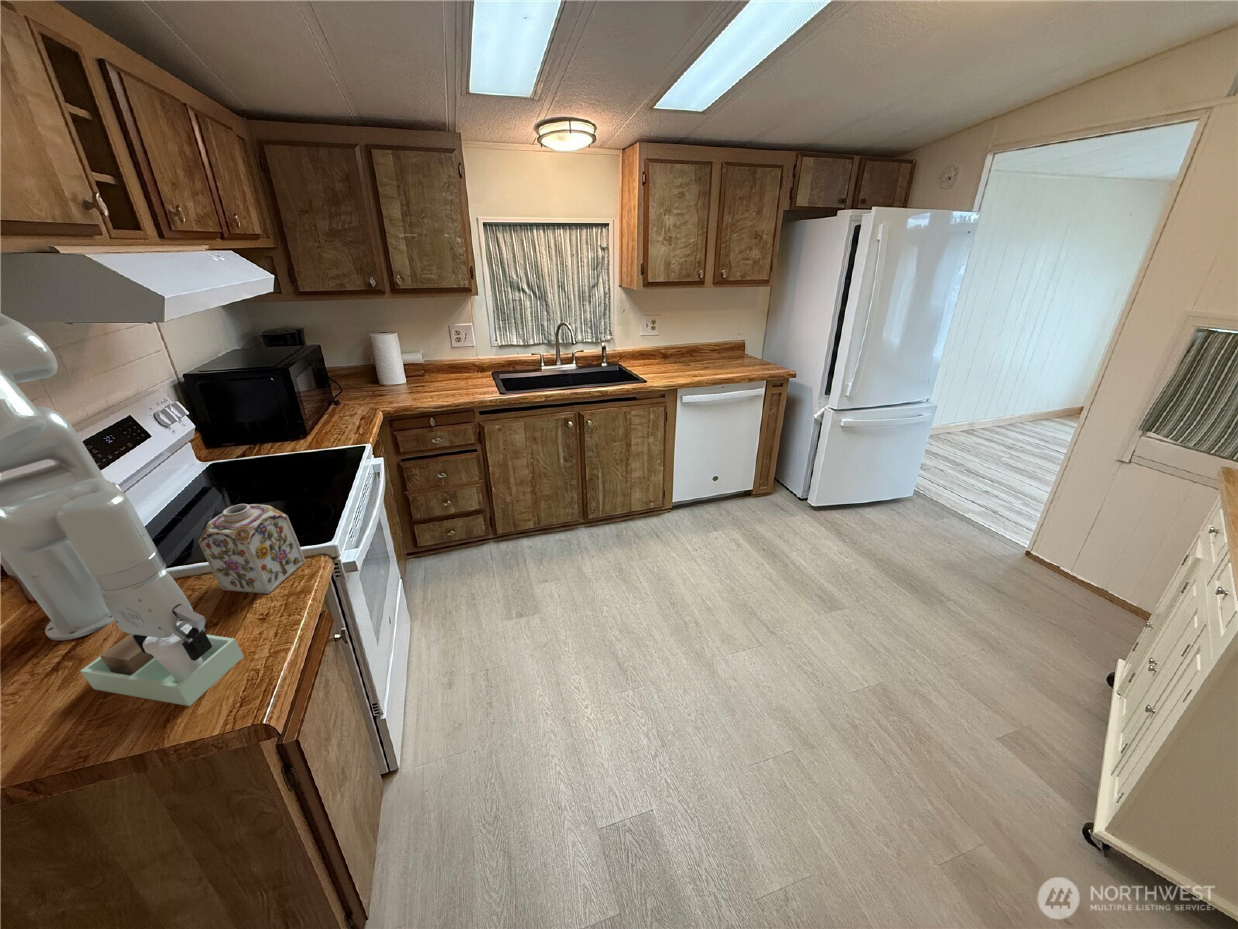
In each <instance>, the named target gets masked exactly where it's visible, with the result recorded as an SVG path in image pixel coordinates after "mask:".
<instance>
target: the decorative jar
mask: <svg viewBox="0 0 1238 929" xmlns="http://www.w3.org/2000/svg"><path fill="white" fill-rule="evenodd" d="M298 540H299V539H298V538H297V535H296V533H295V530H294V528H293V526H292V524H291V521H290V519H289V516H288V515H287V514H285V513H284V512H282V511H281V510H279V509H276V508H274V507H273V506H271V505H267V504H259V503H253V504H252V503H251V504H247V503H239V504H236V505H231V506H228V507H227V508H225V509H224V510H223V511H222V513H220V514H218V515H217V516H215V517H214V518H213V519H211V520H210V521H208V522H207V524H206V526H205V528H204V530H202V533H201V535H200V538H199V539H198V544H199V546H200V549H201V551H202V553H203V555H204V557H205V559H206V560H207V563H208V565H209V567H210V569H211V571H212V574H213V576H214V578H215V579H216V581H217V583H218V585H219V586H220V589H222V590H223V591H232V592H239V593H248V594H249V593H250V594H263V595H264V594H265V595H270V594H271V593H273V591H274V590H276V588H277V587H279V586H280V585H281V584H282V583H283V582H284V581H285V580H287V579H288V578H289V577H290V576H291V575H292V574H293V573H295V572H296V571H297V569H299V568H300V567H301V566H303V565H304V564H305V563H306V560H305V557H304V553H303V550H302V548H301V546H300V543H299V541H298Z"/></svg>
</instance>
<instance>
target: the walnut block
mask: <svg viewBox="0 0 1238 929" xmlns="http://www.w3.org/2000/svg"><path fill="white" fill-rule="evenodd" d="M134 635H135V634H134ZM134 635H131V634H128V635H127V636H126V637H124V638H122V640H120V641H118V642H117V643H116V644H114V645H113V646H111V647H109V649H107V650H106V651H104V652H103V653H101V654H100V655H99V657H101V658H102V660H103V661H104V662H105V664H106V665H107V667H108V668H109V670H110V671H111V672H112V673H117V674H123V675H129V676H131V675H132V674H133V673H135V672H136V671H137V670H138V669H140V668H141V667H142V666H144V665H145V664H146V663H148V662H149V661H150V660H152V659H153V658H154V656H153V655H152V654H148V653H143V652H142V650H141V649H140V647H139V646H138V644H137V643H136V641H135V640H134V638H133V636H134Z"/></svg>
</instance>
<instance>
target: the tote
mask: <svg viewBox="0 0 1238 929" xmlns="http://www.w3.org/2000/svg"><path fill="white" fill-rule="evenodd" d="M206 635H207V637H208V639H209V641H210V643H211V644H212V648H211V649H209V650H208V651H207V652H206V653H205V654H203V655H202V656H201V657H202V660H203V663H202V664H201V665H200V666H199V667H198V668H197V669H195V670H194V671H193V672H192V673H191V674H189V675H188V676H187V677H186V678H185V679H184V680H182V681H181V682H180V683H179V682H178V681H177V680H176V679H175V678H174V677H173V676H172V675H171V674H170V673H169V672H168V671H167V670H166V669H165V668H164V667H163V666H162V665H161V664H160V663H159V662H158V660H157V659H155V657H154V658H153V659H152V660H150V661H149V662H148V663H146V664H145V665H144V666H142V667H141V668H140V669H138V670H137V671H136V672H135V673H133V674H132V675H131V676H129V675H123V674H117V673H112V672H111V671H110V670H109V668H108V667H107V665H106V664H105V662H104V661H103V660H102V658H101V657H100V656H99V657H98V658H96V659H95V660H93V661H92V662H91V663H89V664H87V665H86V666H85V667H83V668H82V669H81V670H80V673H81V674H82V675H83V677H84V678H85V679H86V681H87V682H88V684H89V685H90V687H91V688H92V689H93V690H97V691H101V692H107V693H112V694H113V693H114V694H118V695H125V696H130V697H137V698H142V699H148V700H152V701H159V702H162V703H170V704H175V705H180V706H185V707H190V706H191V705H193V704H194V703H195V702H196V701H197V700H198V699H199V698H201V697H202V696H203V695H204V694H205V693H206V692H207V691H208V690H209V689H210V688H212V687H213V686H214V685H215V684H216V683H217V682H218V681H219V680H221V679H222V677H223V676H225V675H226V674H227V673H228V672H229V671H230V670H231V669H233V667H235V666H236V665H237V664H238V663H240V661H242V659H243V658H244V657H245V655H244V653H243V651H242V649H241V647H240V645H239V644H238V642H237V640H236V638H233V637H226V636H220V635H219V636H218V635H212V634H206Z"/></svg>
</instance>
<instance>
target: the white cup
mask: <svg viewBox="0 0 1238 929" xmlns="http://www.w3.org/2000/svg"><path fill="white" fill-rule="evenodd" d="M183 621H184V620H181V621H180V620H178V621H177V626H178V625H179V624H180V623H182V622H183ZM190 629H192V627H191V626H190V625H188V624H187V625H185V626H184V627H183V628H181V630H182V631H184V632H185V633H186V634H188V632H189V631H190ZM183 642H184V641H183V640H182V639H180V638H179V637H178V636H176V635H175V634H172V635H171V636H170V637H167V638H157V637H149V636H148V637H147V638H146V639H145V641H144V642H143V648H144V649H145V652H146V653H148V654H152V655H153V656H154V657H155V659H157V660H158V662H159V663H160V664H161V665H162V666H163V667H164V668H165V669H166V670H167V671H168V672H169V673H170V674H171V675H172V676H173V677H174V678H175V679H176V680H177V681H178V682H179V683H180V682H181V681H182V680H184V679H185V678H186V677H187V676H188V675H189V674H191V673H192V672H193V671H194V670H195V669H197V668H198V667H199V666H200V665H201V664H202V663H203V660H202V657H200V658H199V659H197V660H196V661H193V660H191V659H190V657H189V655H188V654H187V652H186V650H185V649H184V647H183V645H182V643H183Z"/></svg>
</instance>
